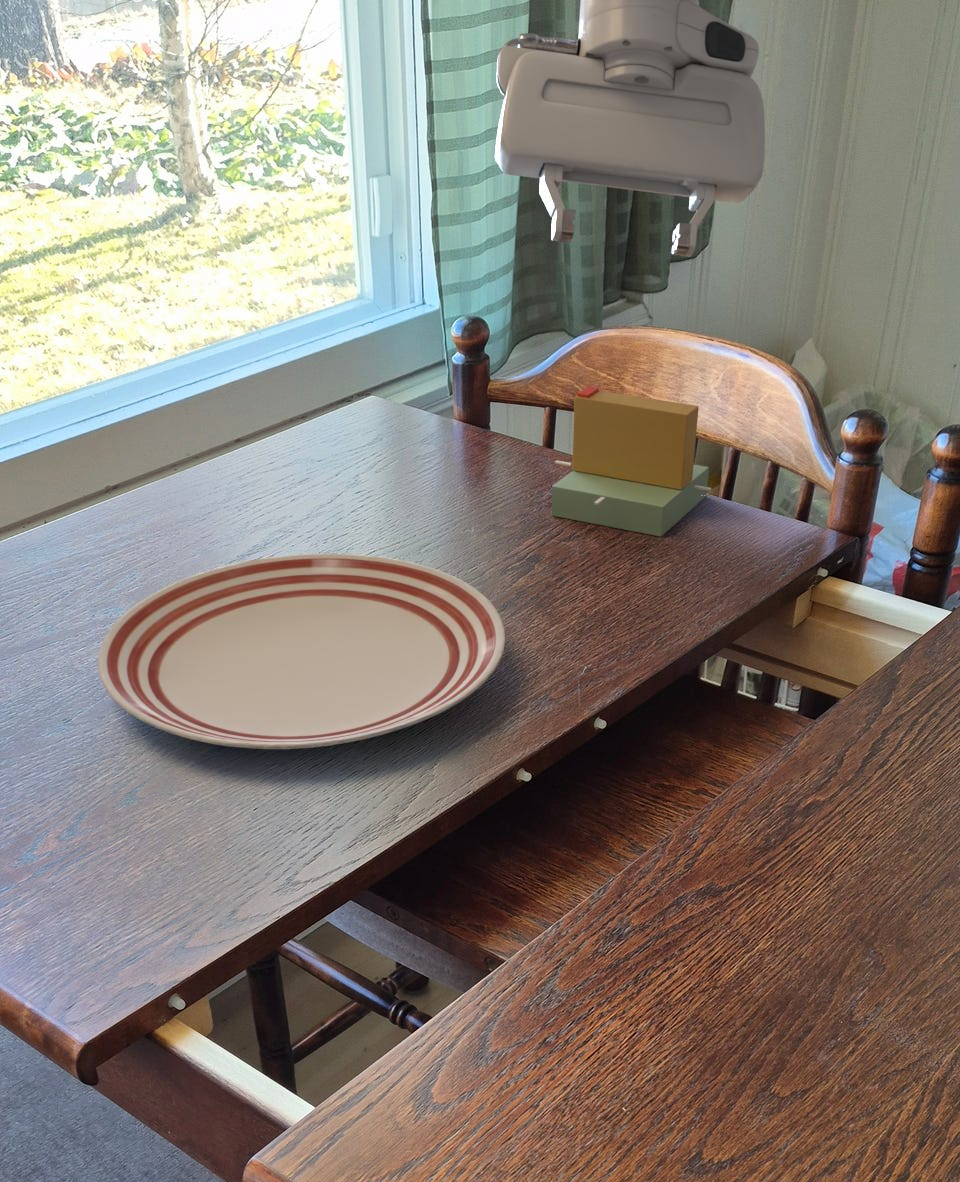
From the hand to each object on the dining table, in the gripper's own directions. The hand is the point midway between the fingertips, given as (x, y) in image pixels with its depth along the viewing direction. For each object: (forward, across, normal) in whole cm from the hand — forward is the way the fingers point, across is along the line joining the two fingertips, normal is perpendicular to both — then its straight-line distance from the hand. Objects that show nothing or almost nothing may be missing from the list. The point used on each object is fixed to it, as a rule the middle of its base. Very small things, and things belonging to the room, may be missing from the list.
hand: (623, 246), depth 109 cm
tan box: (+14, +4, +9) cm, 17 cm away
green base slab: (+16, +4, +11) cm, 20 cm away
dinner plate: (+35, -22, -12) cm, 43 cm away
